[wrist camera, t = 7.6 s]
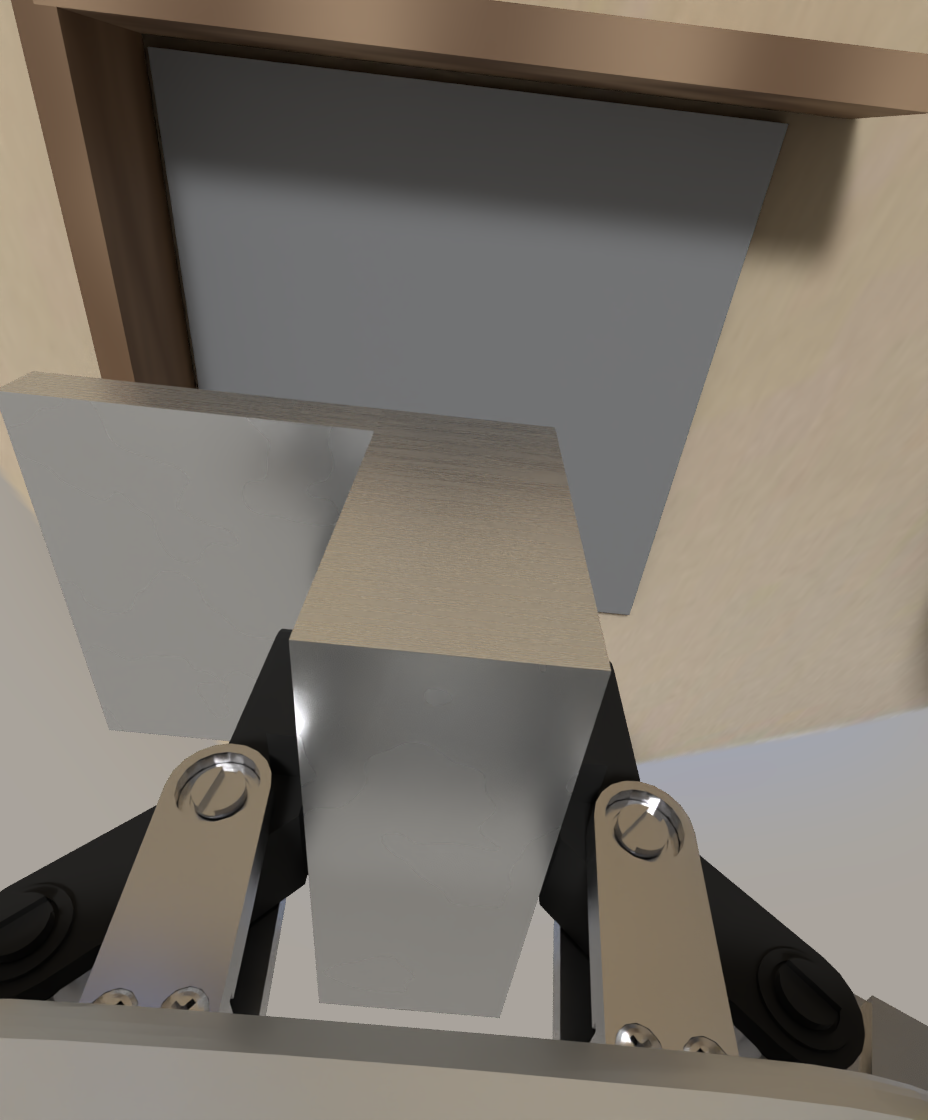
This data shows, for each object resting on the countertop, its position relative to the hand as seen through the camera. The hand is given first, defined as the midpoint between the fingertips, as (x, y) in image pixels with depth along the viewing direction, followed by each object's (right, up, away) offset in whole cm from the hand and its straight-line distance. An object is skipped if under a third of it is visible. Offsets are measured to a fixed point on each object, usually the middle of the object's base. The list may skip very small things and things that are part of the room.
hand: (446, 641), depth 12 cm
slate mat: (0, +8, +11) cm, 13 cm away
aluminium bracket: (-3, +1, +1) cm, 3 cm away
